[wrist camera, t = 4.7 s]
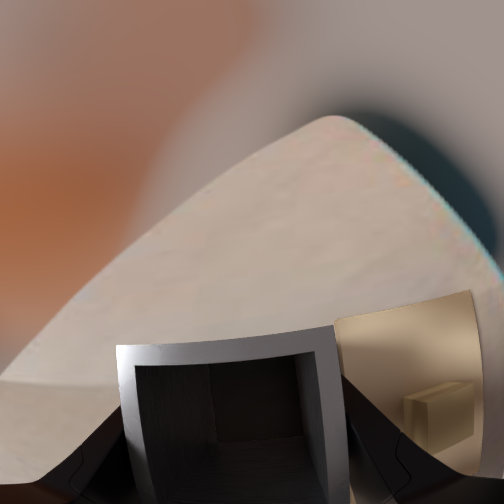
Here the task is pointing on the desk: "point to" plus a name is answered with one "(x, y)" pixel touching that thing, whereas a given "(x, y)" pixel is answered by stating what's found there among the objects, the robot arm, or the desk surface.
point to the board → (422, 374)
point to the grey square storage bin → (204, 431)
